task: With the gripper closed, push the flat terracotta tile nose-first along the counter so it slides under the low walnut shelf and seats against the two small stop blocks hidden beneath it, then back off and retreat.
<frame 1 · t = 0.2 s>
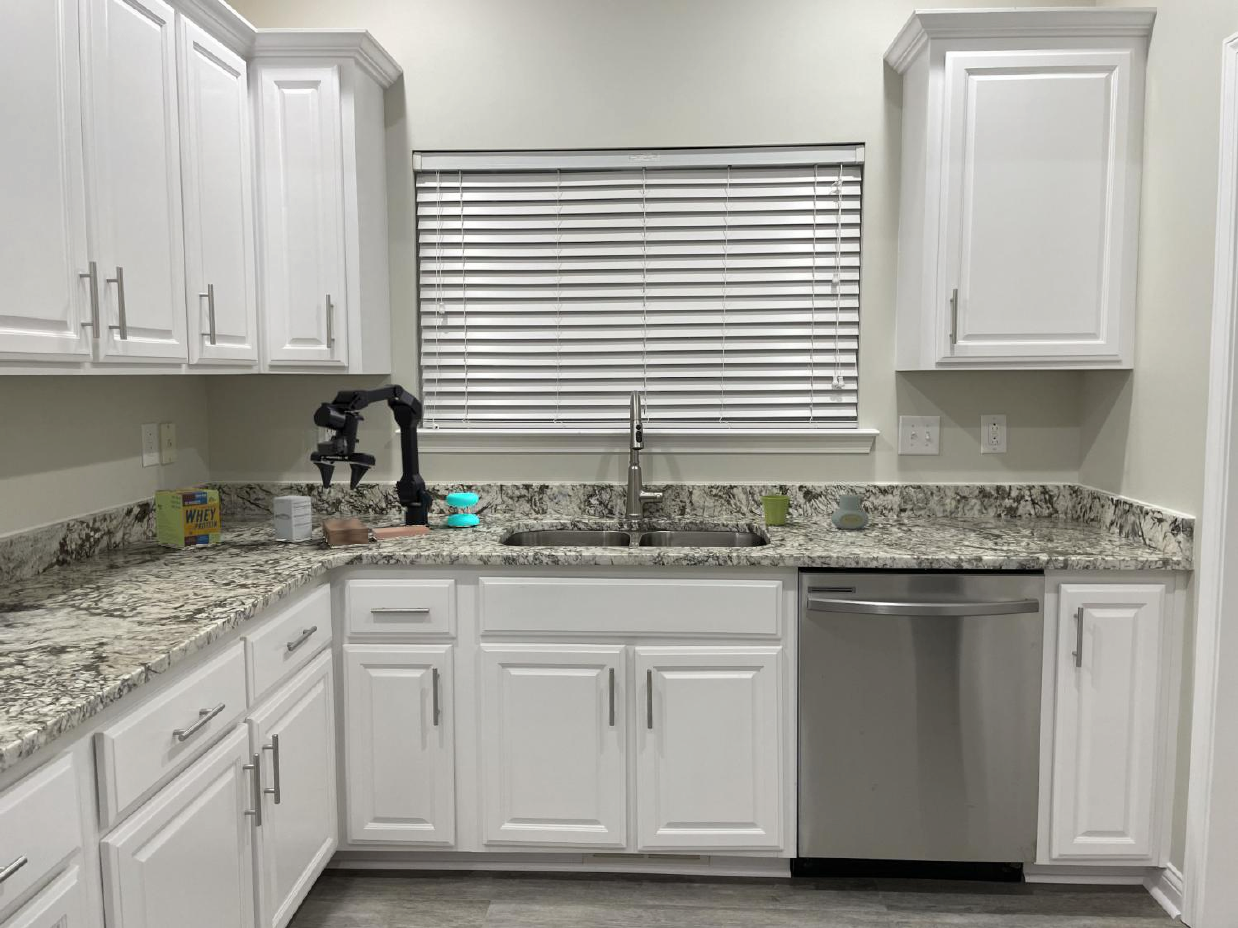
hand: (338, 489, 247), 15 cm above the worktop, tool pointing down, fingers open, 9 cm apart
plant pot: (775, 524, 277), on the worktop
air freshener: (849, 529, 268), on the worktop
protein box: (189, 546, 249), on the worktop
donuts: (462, 526, 279), on the worktop
supplement box: (293, 541, 255), on the worktop
tile: (400, 539, 258), on the worktop
shelf: (345, 541, 252), on the worktop
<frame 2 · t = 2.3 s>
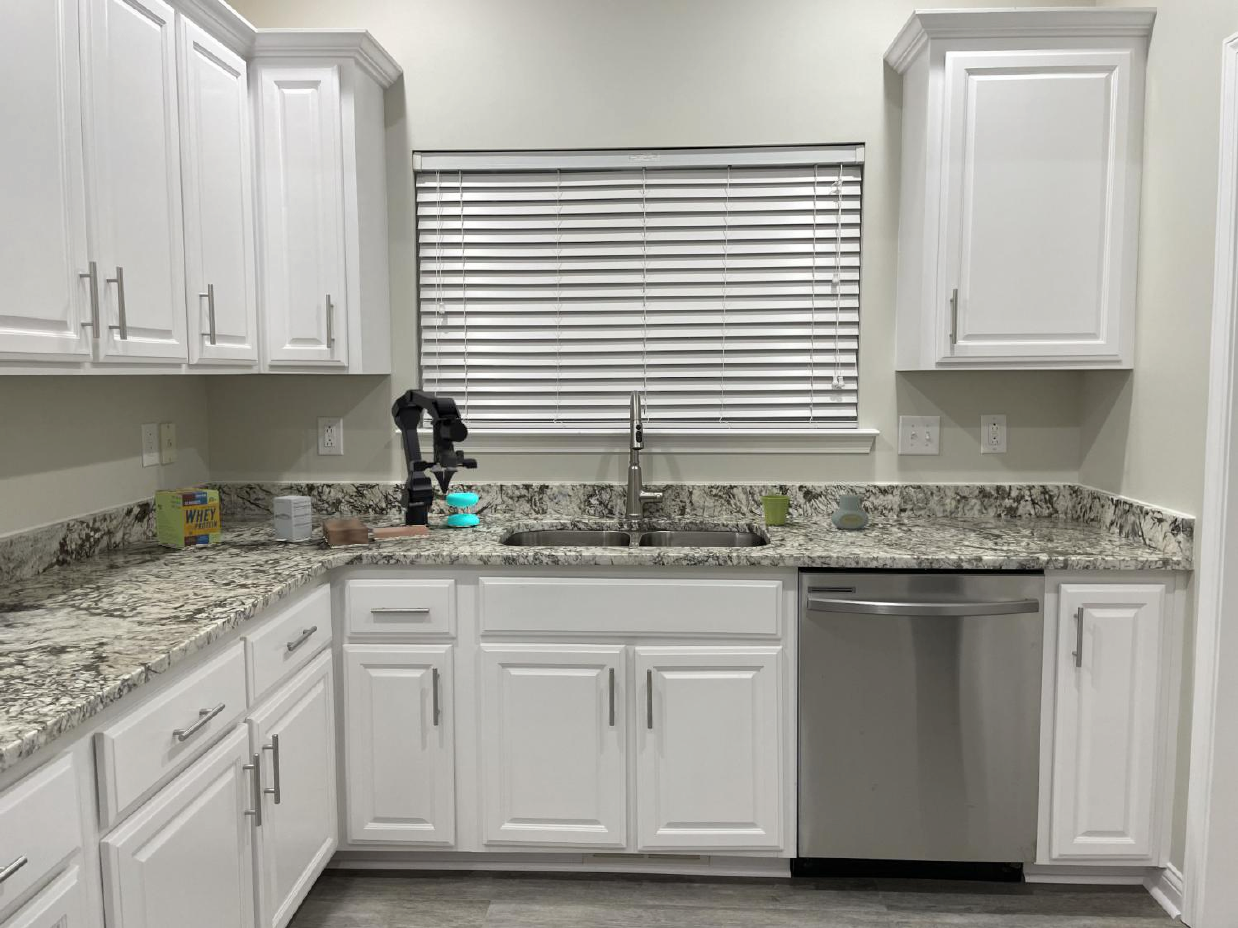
hand: (444, 493, 263), 12 cm above the worktop, tool pointing down, fingers closed
nothing on the worktop moved.
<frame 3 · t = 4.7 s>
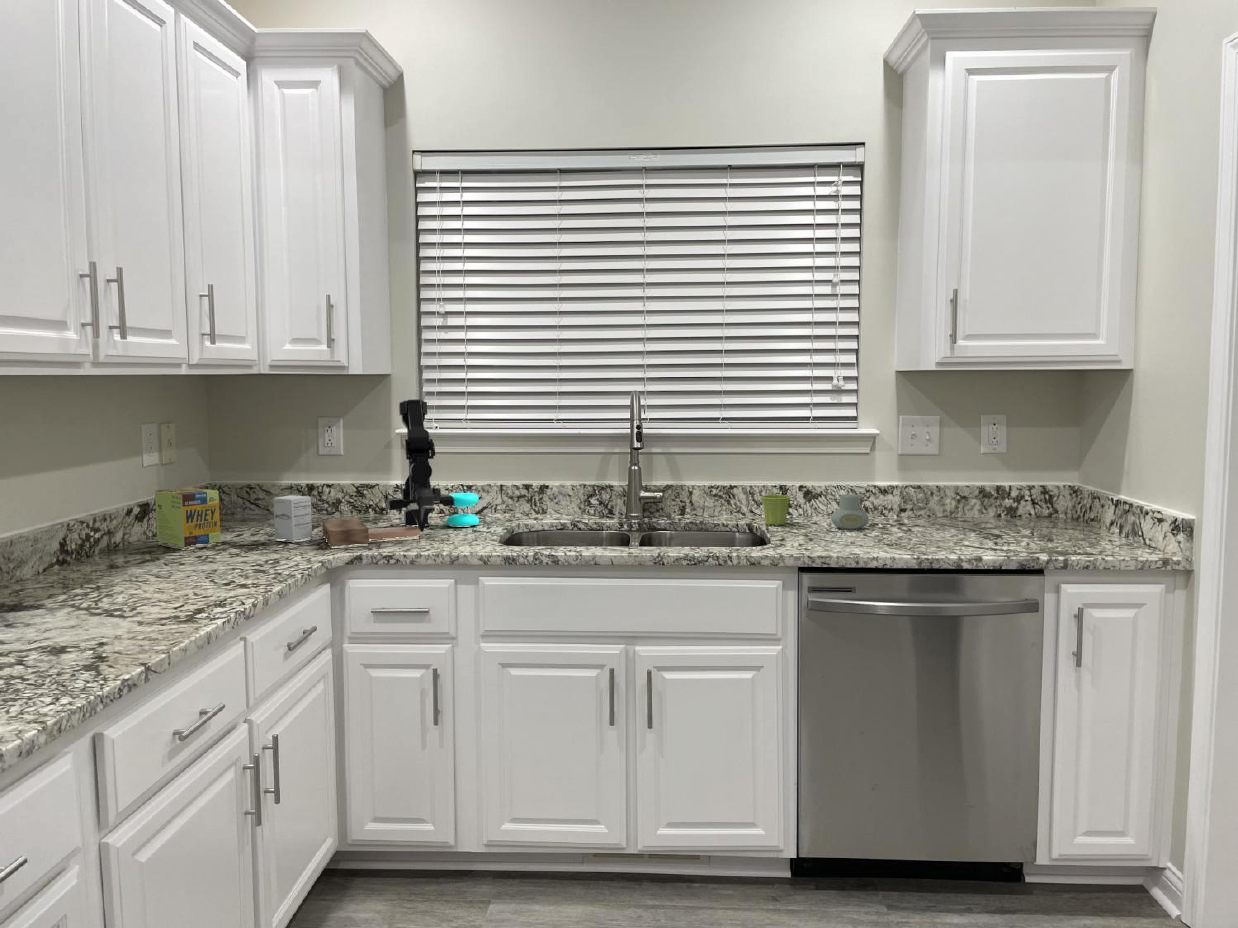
hand: (421, 531, 261), 1 cm above the worktop, tool pointing down, fingers closed
tile: (392, 540, 257), on the worktop
everything else where it was.
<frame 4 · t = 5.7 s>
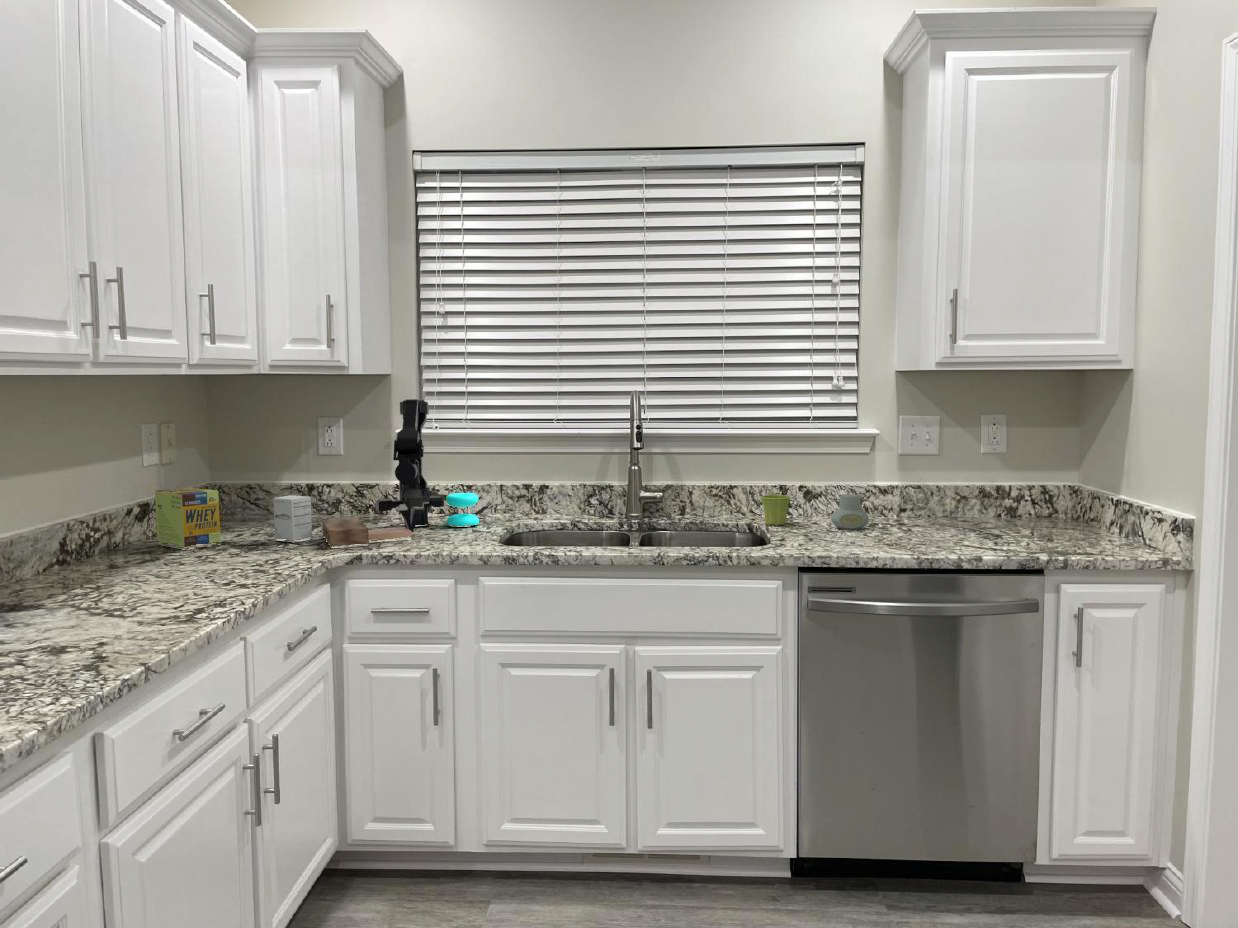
hand: (411, 532, 260), 1 cm above the worktop, tool pointing down, fingers closed
tile: (382, 541, 255), on the worktop
everything else where it was.
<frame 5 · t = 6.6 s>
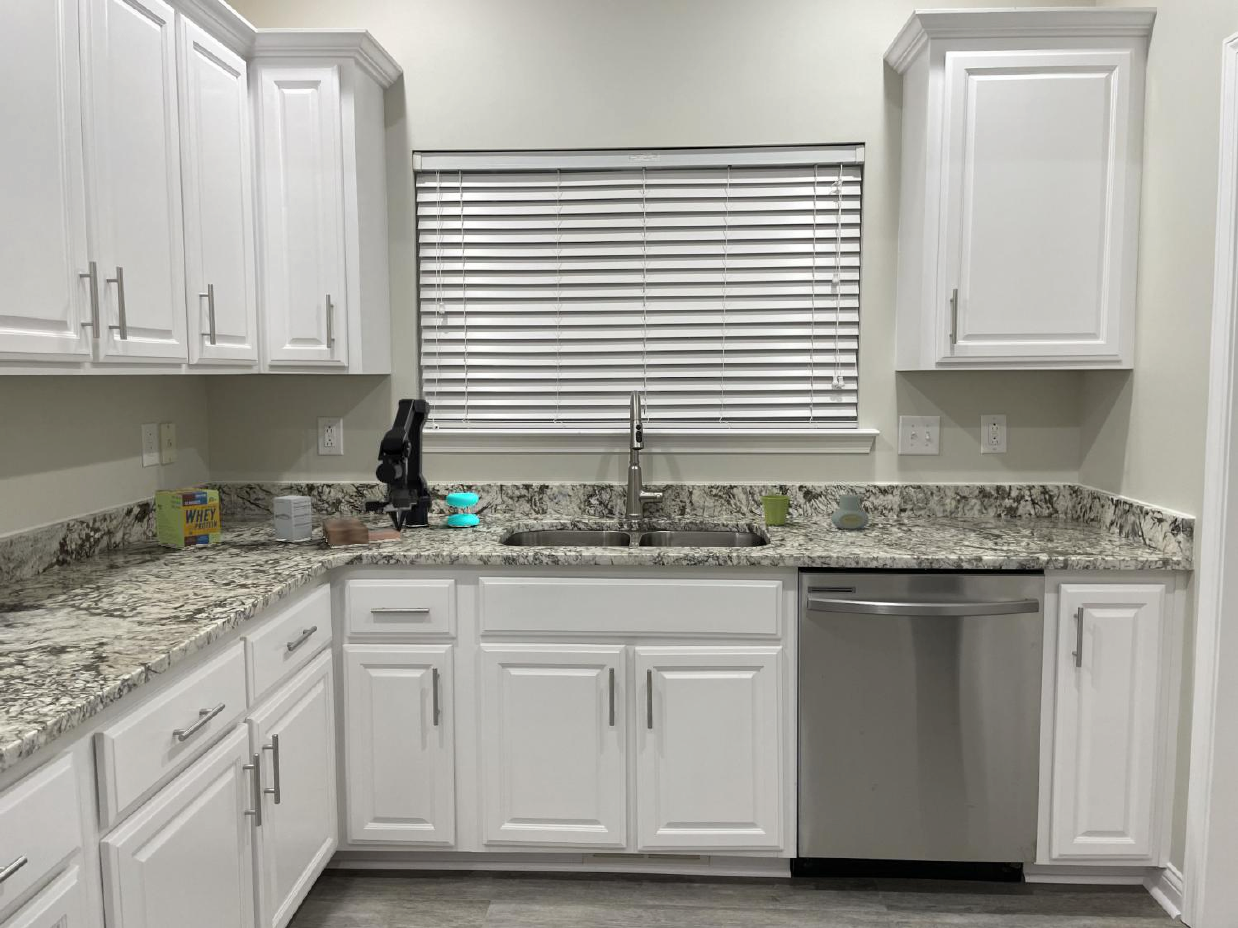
hand: (398, 533, 258), 1 cm above the worktop, tool pointing down, fingers closed
tile: (370, 543, 252), on the worktop, touching gripper
everything else where it was.
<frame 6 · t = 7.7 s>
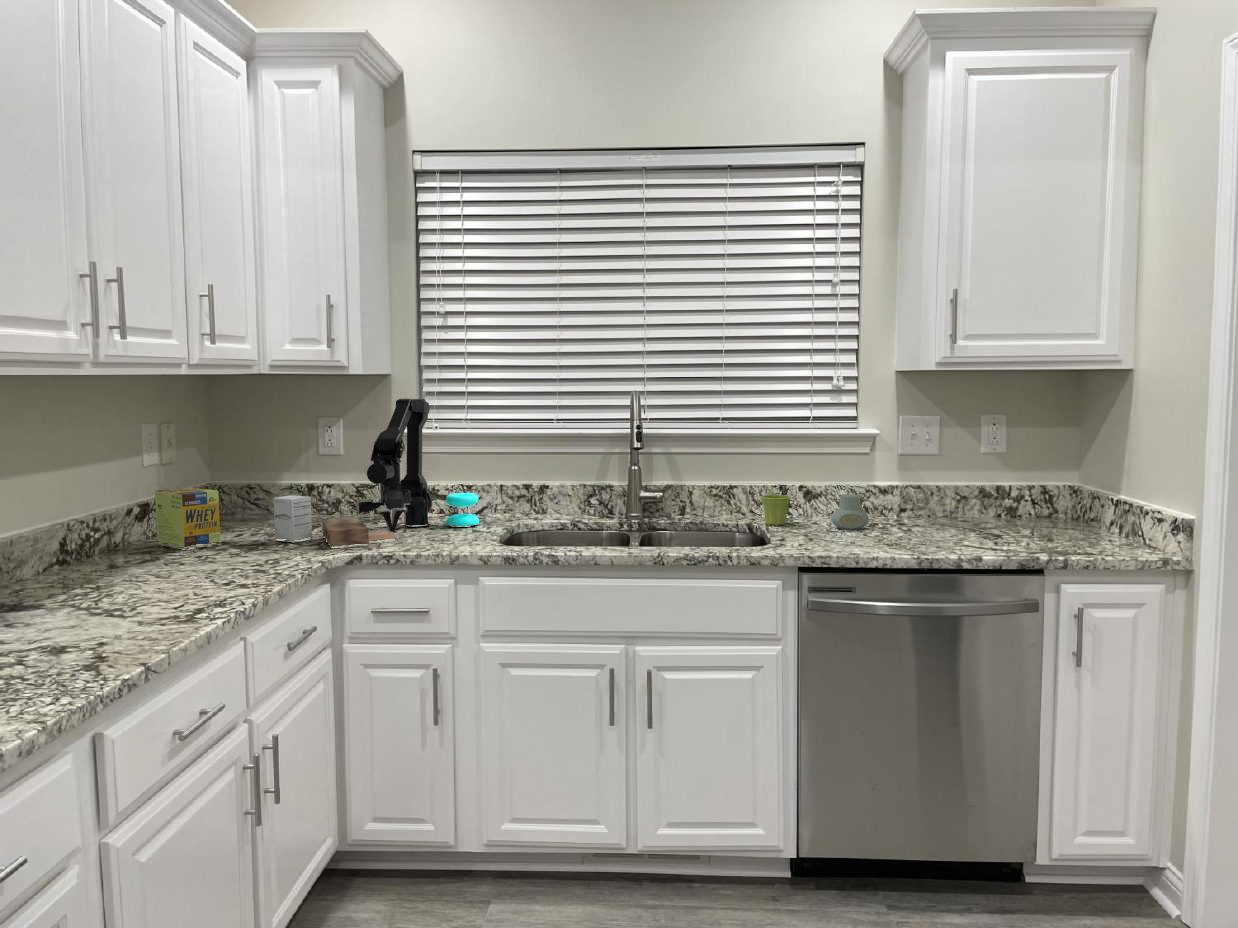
hand: (392, 534, 257), 1 cm above the worktop, tool pointing down, fingers closed
tile: (364, 544, 251), on the worktop
everything else where it was.
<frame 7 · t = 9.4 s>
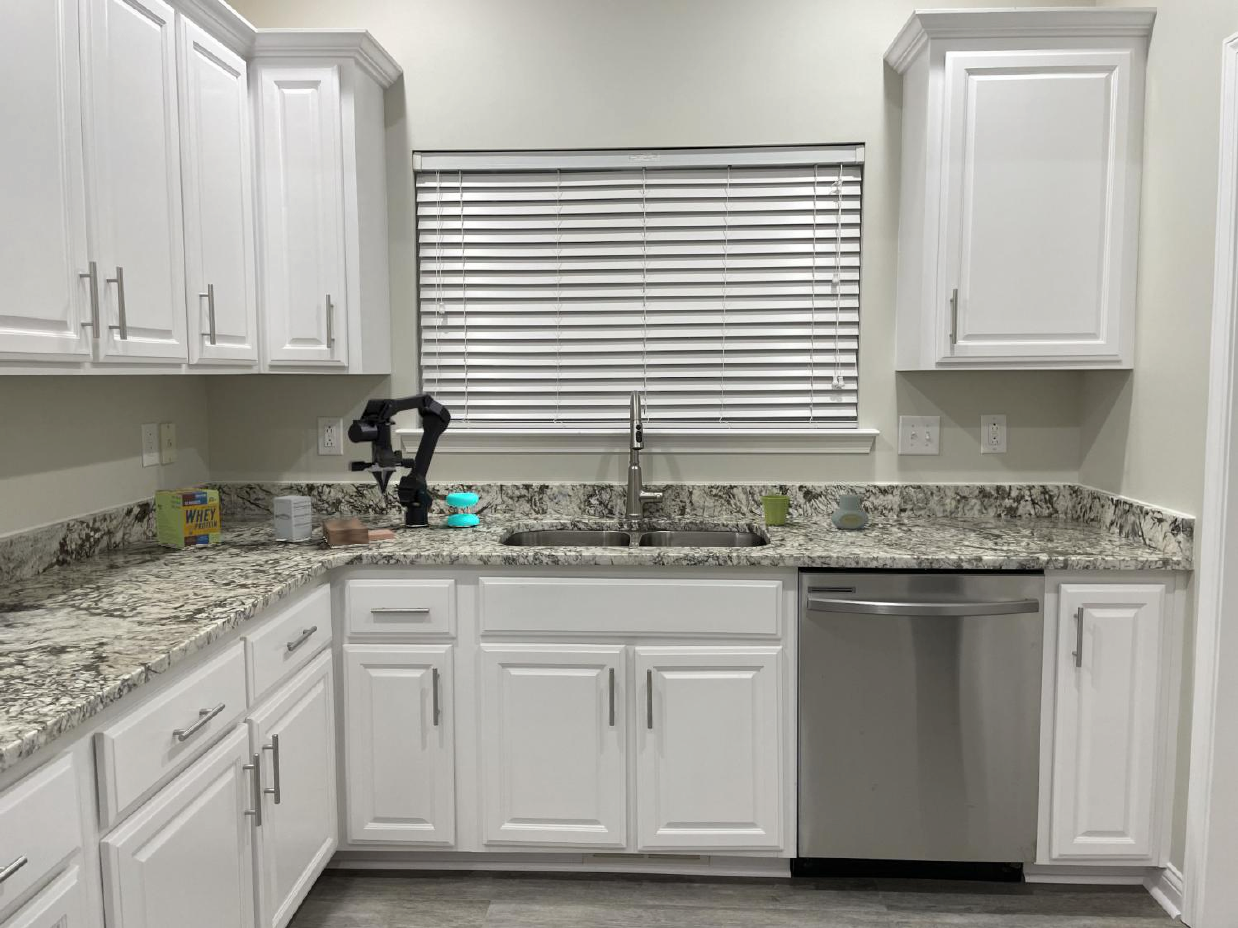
hand: (383, 493, 266), 12 cm above the worktop, tool pointing down, fingers closed
nothing on the worktop moved.
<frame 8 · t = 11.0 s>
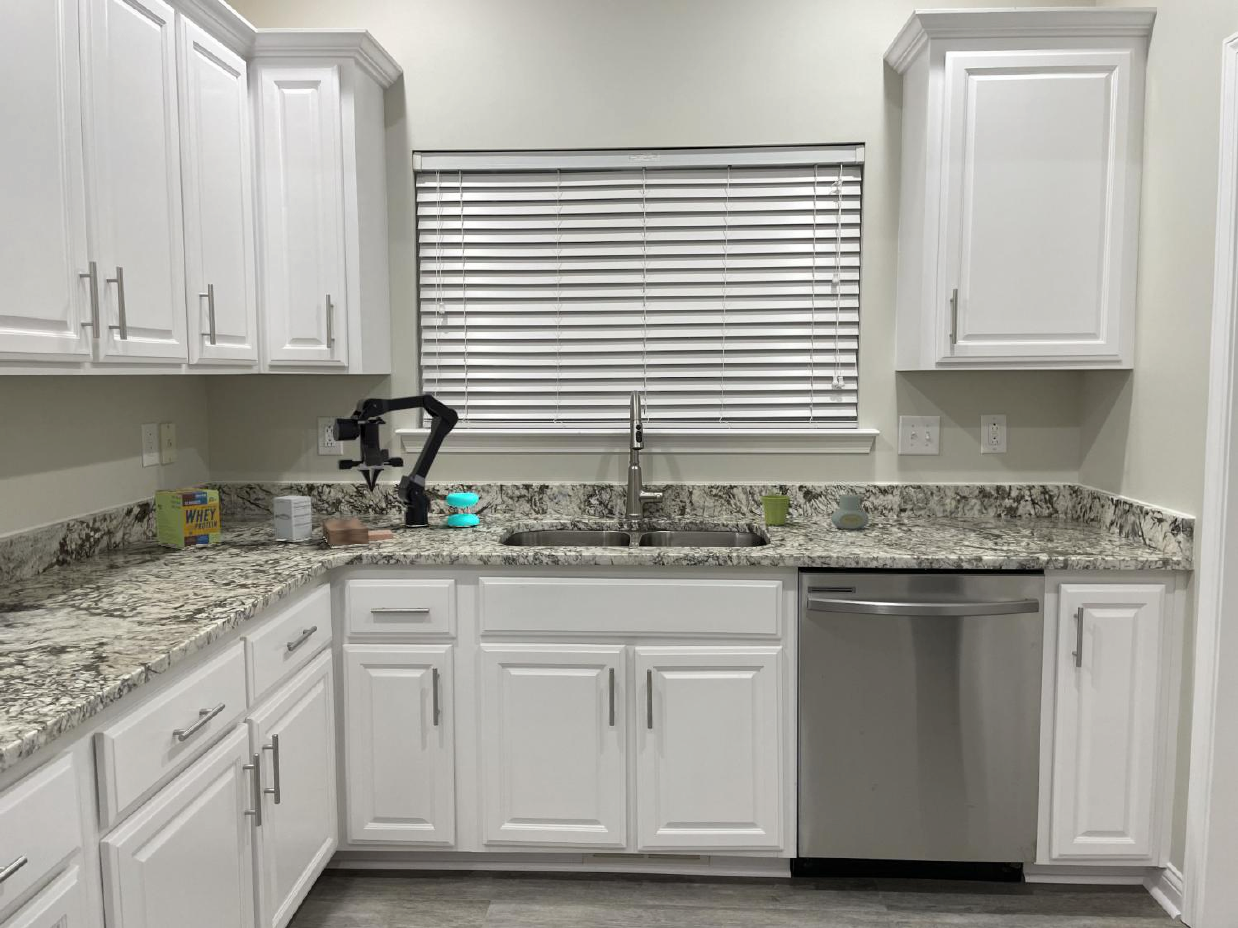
hand: (371, 491, 270), 12 cm above the worktop, tool pointing down, fingers closed
at the end: tile inside the target area (3.0 cm from its centre), on the worktop; tile tilted 0° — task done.
